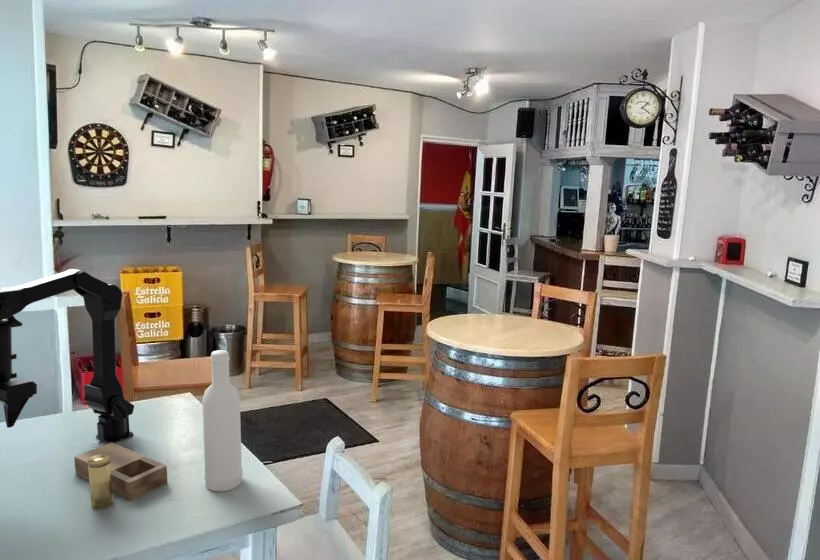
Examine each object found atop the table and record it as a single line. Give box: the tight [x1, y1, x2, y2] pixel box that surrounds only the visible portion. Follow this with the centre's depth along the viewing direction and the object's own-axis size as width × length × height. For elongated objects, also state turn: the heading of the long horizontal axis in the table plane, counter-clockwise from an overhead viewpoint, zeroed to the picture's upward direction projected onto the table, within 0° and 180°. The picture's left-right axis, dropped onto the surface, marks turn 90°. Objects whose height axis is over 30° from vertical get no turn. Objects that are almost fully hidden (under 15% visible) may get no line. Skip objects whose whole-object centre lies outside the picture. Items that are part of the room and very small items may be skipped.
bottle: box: [201, 349, 243, 492], centre depth 136 cm, size 8×8×30 cm
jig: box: [73, 442, 168, 501], centre depth 139 cm, size 9×20×4 cm, turn 58°
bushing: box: [88, 454, 114, 510], centre depth 128 cm, size 4×4×10 cm
